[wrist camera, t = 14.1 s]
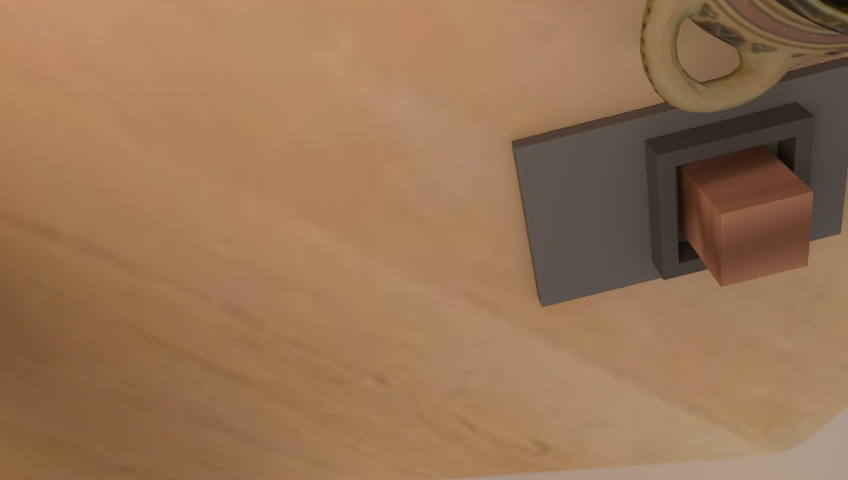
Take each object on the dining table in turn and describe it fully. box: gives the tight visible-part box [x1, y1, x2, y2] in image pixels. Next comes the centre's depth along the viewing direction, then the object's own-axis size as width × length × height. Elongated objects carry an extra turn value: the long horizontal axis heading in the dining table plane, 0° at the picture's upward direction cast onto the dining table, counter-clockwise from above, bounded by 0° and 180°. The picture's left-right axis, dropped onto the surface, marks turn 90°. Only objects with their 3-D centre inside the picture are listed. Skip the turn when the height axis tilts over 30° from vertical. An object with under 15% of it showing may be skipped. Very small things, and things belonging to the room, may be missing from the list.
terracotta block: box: [678, 145, 813, 287], centre depth 45 cm, size 5×5×6 cm
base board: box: [511, 57, 848, 307], centre depth 47 cm, size 20×12×3 cm, turn 102°
